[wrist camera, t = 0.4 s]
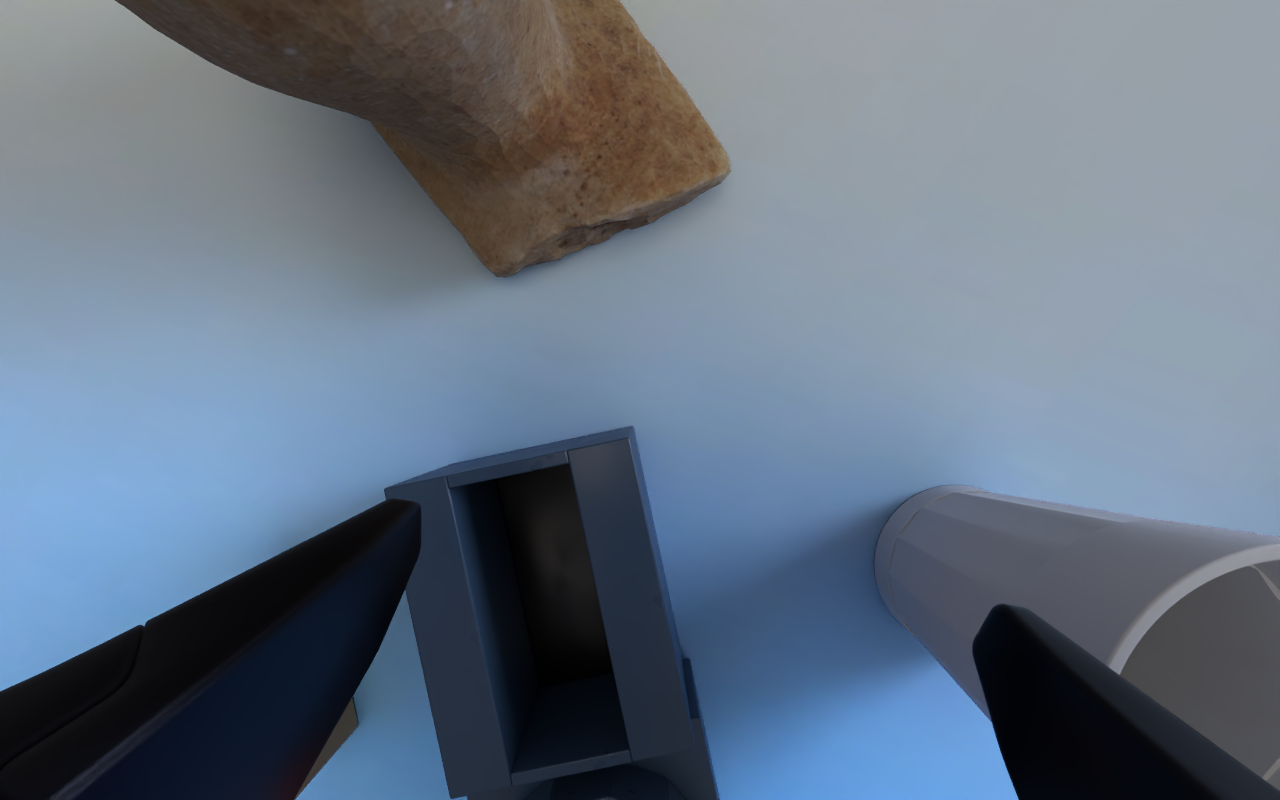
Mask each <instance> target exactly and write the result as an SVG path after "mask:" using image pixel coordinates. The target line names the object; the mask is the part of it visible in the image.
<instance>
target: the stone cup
mask: <svg viewBox="0 0 1280 800" xmlns="http://www.w3.org/2000/svg"><path fill="white" fill-rule="evenodd" d="M115 1H117V2H118V3H120V4H121V5H123V6H125V7H126V8H127V9H129V10H130V11H131V12H133V13H134V14H135V15H137V16H138V17H139V18H141V19H142V20H143V21H145V22H146V23H147V24H149V25H150V26H151V27H153V28H154V29H156V30H157V31H159V32H161V33H162V34H164V35H166V36H167V37H169V38H171V39H172V40H174V41H176V42H177V43H179V44H181V45H182V46H184V47H185V48H187V49H189V50H190V51H192V52H194V53H195V54H197V55H199V56H200V57H202V58H204V59H205V60H207V61H209V62H210V63H212V64H214V65H216V66H219V67H221V68H223V69H225V70H227V71H229V72H231V73H233V74H235V75H237V76H239V77H241V78H243V79H245V80H248V81H250V82H252V83H255V84H257V85H260V86H263V87H265V88H268V89H271V90H274V91H277V92H280V93H283V94H286V95H289V96H292V97H296V98H299V99H302V100H306V101H309V102H312V103H316V104H319V105H322V106H326V107H329V108H333V109H336V110H340V111H343V112H347V113H350V114H352V115H355V116H358V117H360V118H363V119H366V120H368V121H371V123H372V124H373V126H374V127H375V129H376V130H377V131H378V132H379V134H380V135H381V136H382V138H383V139H384V140H385V142H386V143H387V144H388V145H389V147H390V148H391V149H392V151H393V152H394V153H395V154H396V155H397V157H398V158H399V159H400V160H401V162H402V163H403V164H404V165H405V167H406V168H407V169H408V170H409V172H410V173H411V174H412V176H413V177H414V178H415V179H416V181H417V182H418V183H419V184H420V186H421V187H422V188H423V189H424V191H425V192H426V193H427V194H428V196H429V197H430V198H431V199H432V201H433V202H434V203H435V204H436V205H437V207H438V208H439V209H440V210H441V211H442V212H443V213H444V215H445V216H446V217H447V218H448V219H449V220H450V221H451V223H452V224H453V225H454V226H455V227H456V228H457V229H458V231H459V232H460V233H461V234H462V235H463V237H464V238H465V240H466V241H467V243H468V245H469V246H470V248H471V249H472V251H473V252H474V253H475V255H476V256H477V257H478V258H479V260H480V261H481V262H482V263H483V264H484V265H485V266H486V267H487V268H488V269H489V270H490V271H491V272H492V273H494V274H495V275H496V276H497V277H508V276H511V275H514V274H516V273H517V272H519V271H520V270H521V269H522V268H523V267H527V266H530V265H534V264H538V263H543V262H548V261H554V260H560V259H561V258H562V257H564V256H565V255H567V254H568V253H571V252H575V251H579V250H581V249H583V248H585V247H586V246H588V245H594V244H598V243H601V242H603V241H605V240H608V239H609V238H610V237H611V236H612V235H614V234H615V233H617V232H620V231H622V230H624V229H635V228H638V227H641V226H645V225H647V224H650V223H652V222H654V221H656V220H657V219H658V218H660V217H662V216H663V215H665V214H667V213H669V212H670V211H672V210H675V209H677V208H679V207H681V206H684V205H686V204H687V203H689V202H691V201H692V200H693V199H695V198H696V197H697V196H698V195H700V194H701V193H703V192H705V191H707V190H708V189H710V188H712V187H714V186H716V185H718V184H721V183H722V181H723V180H724V179H725V178H726V177H727V176H728V174H729V173H730V172H731V162H730V159H729V157H728V155H727V153H726V151H725V150H724V148H723V146H722V145H721V143H720V142H719V140H718V139H717V137H716V136H715V134H714V132H713V131H712V129H711V128H710V126H709V125H708V123H707V122H706V121H705V119H704V118H703V116H702V115H701V113H700V112H699V110H698V108H697V107H696V105H695V104H694V102H693V101H692V99H691V98H690V96H689V95H688V93H687V92H686V90H685V89H684V87H683V86H682V84H681V83H680V82H679V81H678V80H677V78H676V77H675V76H674V75H673V74H672V72H671V71H670V70H669V68H668V67H667V65H666V64H665V63H664V61H663V60H662V58H661V57H660V55H659V54H658V52H657V51H656V49H655V48H654V47H653V46H652V45H651V44H650V43H649V42H648V41H647V40H646V39H645V38H644V36H643V35H642V33H641V31H640V29H639V27H638V26H637V24H636V23H635V21H634V20H633V18H632V17H631V16H630V14H629V13H628V12H627V10H626V9H625V8H624V6H623V5H622V3H621V2H620V1H619V0H115Z"/></svg>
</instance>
